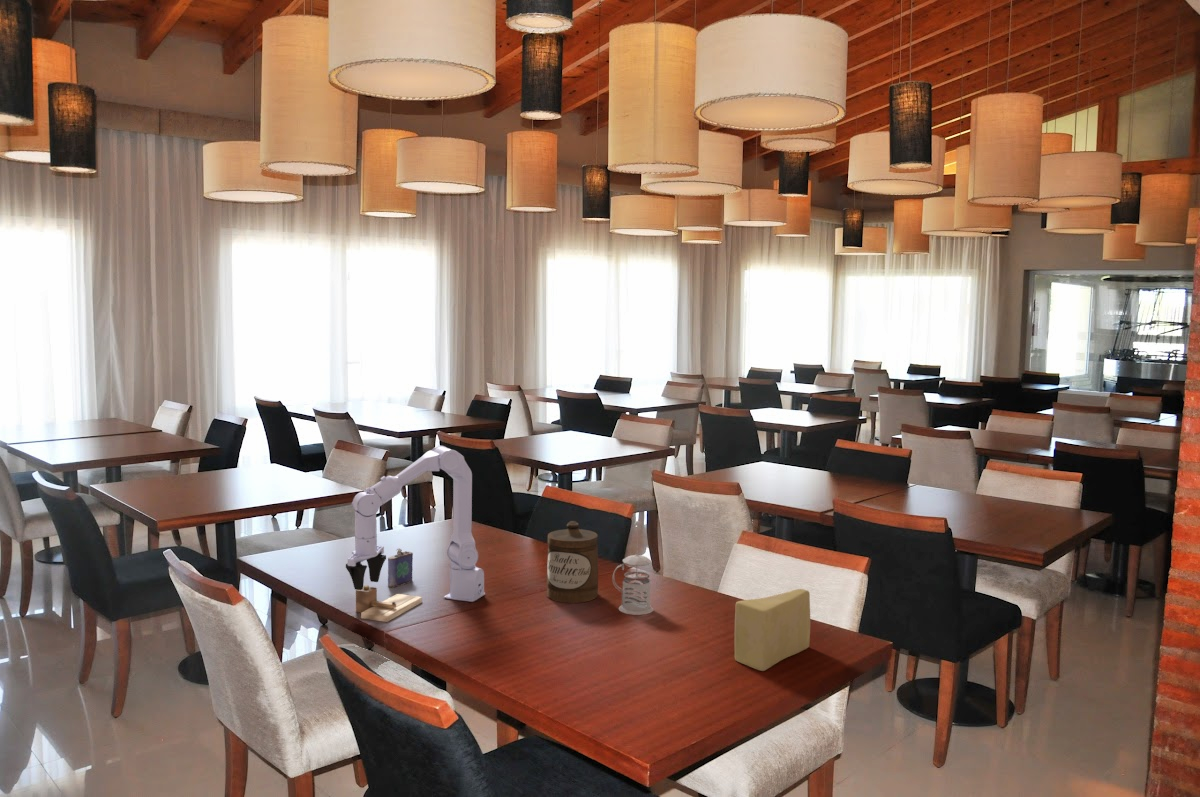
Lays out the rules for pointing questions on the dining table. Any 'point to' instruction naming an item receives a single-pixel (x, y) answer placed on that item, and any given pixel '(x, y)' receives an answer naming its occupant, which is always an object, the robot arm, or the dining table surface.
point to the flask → (400, 568)
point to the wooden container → (572, 565)
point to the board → (388, 614)
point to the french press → (635, 585)
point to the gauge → (369, 599)
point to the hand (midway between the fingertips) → (366, 585)
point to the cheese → (772, 628)
